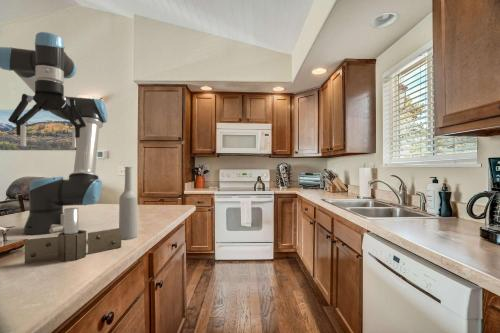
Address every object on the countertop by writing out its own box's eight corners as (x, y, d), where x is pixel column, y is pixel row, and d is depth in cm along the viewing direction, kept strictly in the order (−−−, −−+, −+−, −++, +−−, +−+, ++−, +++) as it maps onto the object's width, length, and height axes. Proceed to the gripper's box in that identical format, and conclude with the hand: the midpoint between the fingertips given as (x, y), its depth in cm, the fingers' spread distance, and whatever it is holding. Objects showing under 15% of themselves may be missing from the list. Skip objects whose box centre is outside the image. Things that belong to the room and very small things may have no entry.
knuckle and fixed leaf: (28, 259, 79) (29, 234, 79) (87, 252, 86) (87, 229, 86) (20, 267, 73) (20, 240, 73) (84, 259, 79) (84, 234, 79)
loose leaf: (88, 253, 84) (88, 233, 84) (87, 253, 84) (87, 232, 84) (121, 247, 91) (121, 228, 91) (120, 246, 91) (120, 227, 91)
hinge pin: (65, 256, 82) (65, 208, 82) (79, 254, 83) (79, 207, 83) (63, 260, 78) (63, 209, 79) (77, 258, 80) (77, 209, 80)
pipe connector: (62, 245, 93) (62, 217, 93) (39, 243, 95) (39, 216, 95) (85, 238, 103) (85, 212, 103) (64, 236, 105) (64, 211, 105)
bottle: (128, 234, 108) (128, 166, 109) (140, 236, 106) (141, 166, 106) (115, 238, 102) (115, 166, 102) (128, 240, 100) (128, 166, 100)
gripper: (-6, 72, 78) (-6, 144, 78) (92, 84, 89) (92, 147, 89) (4, 80, 84) (4, 146, 84) (94, 90, 96) (94, 148, 96)
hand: (49, 146), depth 87 cm, fingers open, 13 cm apart
